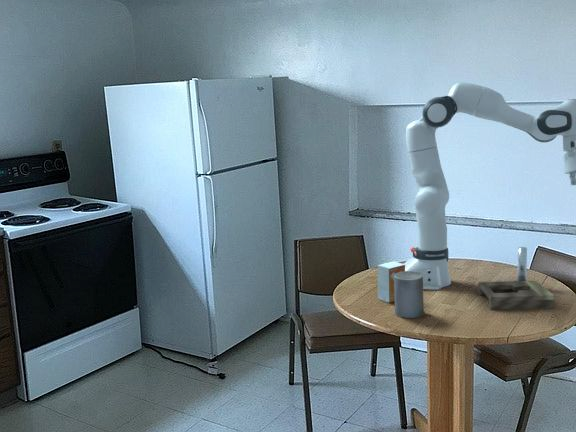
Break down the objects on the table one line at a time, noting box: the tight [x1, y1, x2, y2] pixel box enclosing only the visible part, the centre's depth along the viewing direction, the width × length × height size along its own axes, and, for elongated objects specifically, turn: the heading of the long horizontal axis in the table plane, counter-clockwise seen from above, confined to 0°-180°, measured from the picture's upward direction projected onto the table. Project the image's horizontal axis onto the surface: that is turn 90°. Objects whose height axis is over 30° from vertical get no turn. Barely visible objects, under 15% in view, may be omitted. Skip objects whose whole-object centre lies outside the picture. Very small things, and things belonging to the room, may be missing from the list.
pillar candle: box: [394, 271, 425, 319], centre depth 215 cm, size 10×10×15 cm
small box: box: [377, 260, 405, 303], centre depth 231 cm, size 8×6×13 cm
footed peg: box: [516, 246, 528, 281], centre depth 238 cm, size 6×6×15 cm
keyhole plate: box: [478, 280, 555, 311], centre depth 223 cm, size 21×17×4 cm
